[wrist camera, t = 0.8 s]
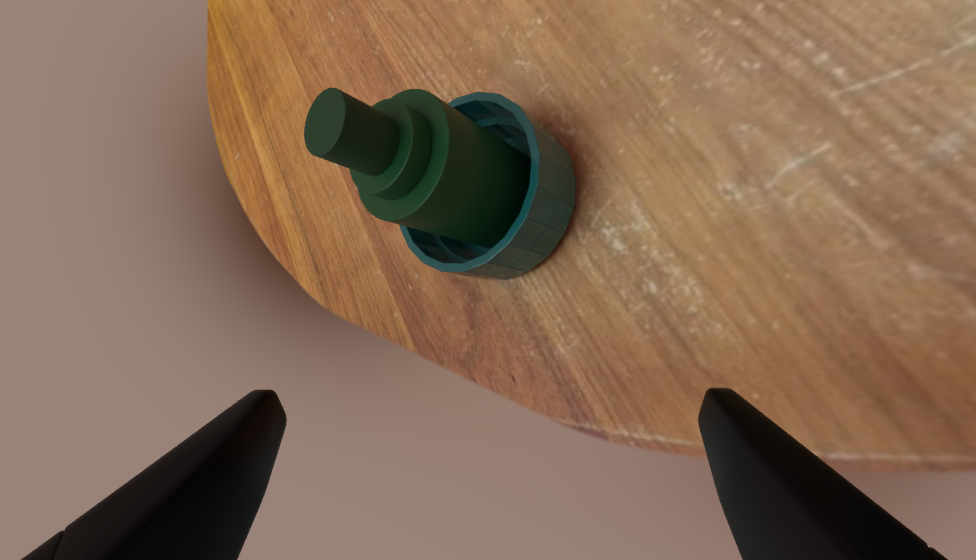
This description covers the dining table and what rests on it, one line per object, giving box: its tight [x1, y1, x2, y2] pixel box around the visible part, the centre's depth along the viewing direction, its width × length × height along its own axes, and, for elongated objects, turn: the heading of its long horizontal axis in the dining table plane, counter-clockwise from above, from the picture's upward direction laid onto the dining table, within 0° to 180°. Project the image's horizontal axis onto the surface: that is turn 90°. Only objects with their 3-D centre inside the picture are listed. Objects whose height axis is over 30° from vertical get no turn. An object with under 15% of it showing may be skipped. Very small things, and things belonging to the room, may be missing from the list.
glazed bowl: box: [399, 92, 576, 280], centre depth 26 cm, size 10×10×5 cm
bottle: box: [304, 88, 531, 249], centre depth 23 cm, size 6×6×13 cm
